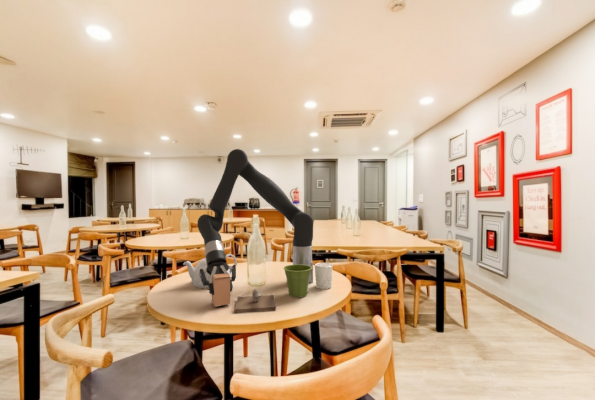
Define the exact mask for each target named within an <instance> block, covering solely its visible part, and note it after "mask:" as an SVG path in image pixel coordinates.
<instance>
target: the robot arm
mask: <svg viewBox="0 0 595 400" xmlns="http://www.w3.org/2000/svg"><path fill="white" fill-rule="evenodd" d="M226 159H227V160H226V163H225V168H224V171H223V174H222V175H221V179H220V181H219V184H218V185H217V188H216V189H215V192H214V194H213V196H212V198H211V200H210V203H209V205H208V208H209V210H211V211H212V212H214V216H213V215H210V214H202V215H200V216H199V218H198V219H197V222H196V223H197V229H198V231H199V233H200V235H201V237H202V239H203V243H204V256H205V258H206V263H207V269H204V270H203V269H200V272H199V275H200V278H201V281H202V283H203V285H204V286H206V285H207V286H208V287H209V288H208V291H209V294H210V295H211V296H212V295H214V287H213V283H212V282H213V280H212V276H214V275H216V274H223V273H224V274H228V275H229V273H228V272H227V271H228V269H229V271H231V276H230V293H231V292H232V291H233V288H234V286H233V282H235V281H236V278H237V265H234V264H233V265H229V264H228V262H227V258H226V252H225V247H224V244H223V240H222V236H221V234H220V231H221V229H222V227H223V224H224V216H225V211H226V208H227V206H228V203H229V200H230V199H231V196H232V193H233V190H234V187H235V184H236V181H237V179H238V178H239V176H240V177H241V178H242V179H244V180H245V182H247V183H248V184H249V186H251V188H252V189H253V191H255V192H256V193H257V194H258V195H259V196H260V197H261V198H262V199H263V200H264V201H265V202H266V203H267V204H269V205H270V206H271V207H272V208H274V209H275V210H277V212H279V213H281V215H283V216H284V218H286V219H287V220H288V221H287V222H289V223H290V224H291V226H292V227H293V238H292V265H308V266H311V267H312V269H311V271H310V275H309V282H308V284H310V283H314V263H313V245H312V244H313V240H314V220H313V217H312V216H311V215H310V214H309V213H307V212H304V211H302V210H301V209H300V208H298V207H297V206H296V205H295V204H294V203H293V202H292V201H291V200H290V198H289V197H288V196H287V194H286V193H285V192H284V191H283V190H282V188H281V187H279V186H280V185H278V184H277V183H275V181H274V180H272V179H271V178H270V177H268V176H266V175H264V174H263V173H261V172H260V171H259V170H258V169H256V168H255V167H254V165H252V163H251V162H250V161H249V159H248V154H247V153H246V152H245V151H244V150H243V149H240V148H236V149H233V150H231V151H229V153H228V155H227V158H226ZM206 272H207V273H208V274H209V275H211V277H210V280H209V281H207V279H206V276H205V275H206Z"/></svg>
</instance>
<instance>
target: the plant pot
mask: <svg viewBox="0 0 595 400" xmlns="http://www.w3.org/2000/svg"><path fill="white" fill-rule="evenodd" d="M282 268H283V270H284V273H285V277H286V283H287V289H288V294H289V296H290V297H291V298H295V299H296V298H305V297H306V296H307V294H308V287H309V283H308V282H309V275H310V271H311V269H312V267H311V266H308V265H293V264H289V265H284V267H282Z"/></svg>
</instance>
